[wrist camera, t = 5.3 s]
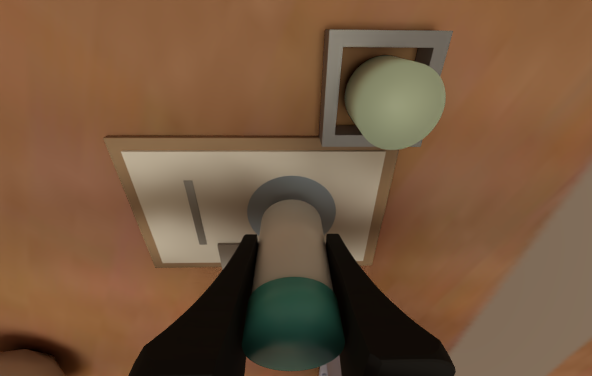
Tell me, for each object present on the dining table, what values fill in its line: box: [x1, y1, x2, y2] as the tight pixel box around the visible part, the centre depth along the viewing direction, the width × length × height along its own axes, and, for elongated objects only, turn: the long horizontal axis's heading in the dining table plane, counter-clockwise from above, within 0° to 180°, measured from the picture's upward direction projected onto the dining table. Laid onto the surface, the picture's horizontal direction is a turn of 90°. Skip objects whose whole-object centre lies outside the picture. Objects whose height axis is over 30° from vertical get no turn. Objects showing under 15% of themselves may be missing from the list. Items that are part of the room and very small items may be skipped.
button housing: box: [319, 30, 453, 147], centre depth 12 cm, size 5×5×2 cm
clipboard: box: [103, 136, 399, 270], centre depth 16 cm, size 10×16×1 cm, turn 89°
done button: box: [345, 55, 445, 150], centre depth 11 cm, size 3×3×3 cm
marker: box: [242, 199, 345, 371], centre depth 12 cm, size 4×4×7 cm
